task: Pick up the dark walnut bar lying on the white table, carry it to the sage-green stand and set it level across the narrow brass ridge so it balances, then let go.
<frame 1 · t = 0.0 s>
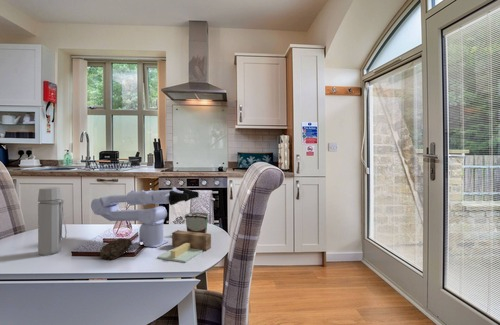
hand: (193, 195, 106), 22 cm above the table, tool horizontal, fingers open, 7 cm apart
walnut bar: (191, 247, 109), on the table
food container: (199, 234, 129), on the table
dark brown rock: (115, 255, 101), on the table
ridge stand: (180, 254, 100), on the table
water bottle: (52, 252, 102), on the table
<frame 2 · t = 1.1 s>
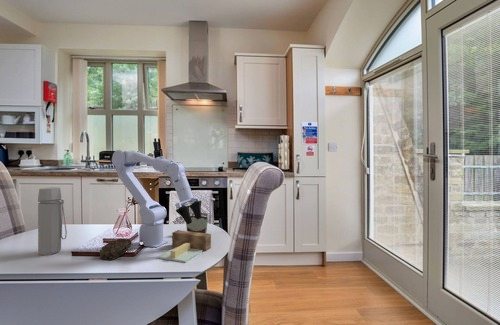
hand: (194, 221, 108), 11 cm above the table, tool tilted 20°, fingers open, 7 cm apart
nothing on the table moved.
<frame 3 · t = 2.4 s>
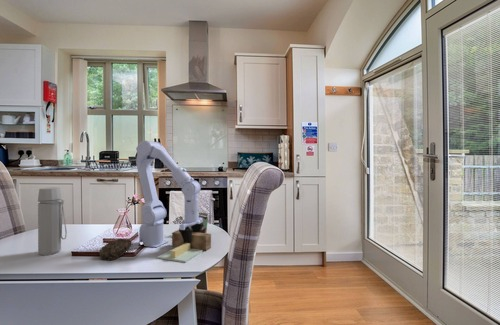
hand: (191, 243, 109), 2 cm above the table, tool pointing down, fingers open, 6 cm apart
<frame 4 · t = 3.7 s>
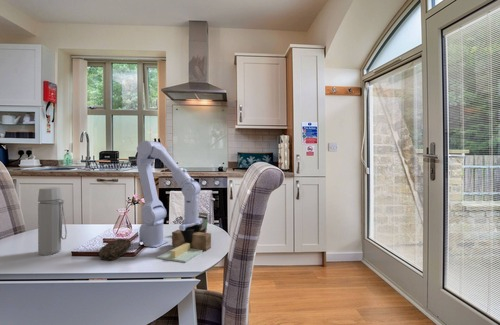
hand: (191, 243, 109), 1 cm above the table, tool pointing down, fingers closed on walnut bar, 4 cm apart
walnut bar: (191, 247, 109), on the table, touching gripper
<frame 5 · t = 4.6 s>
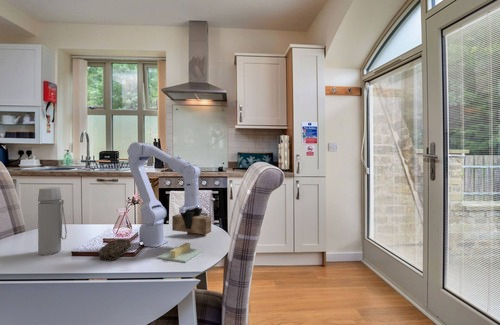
hand: (191, 227, 109), 8 cm above the table, tool pointing down, fingers closed on walnut bar, 4 cm apart
walnut bar: (191, 231, 109), point 7 cm above the table, touching gripper
when the fingers open (5 cm above the table, at t = 6.5 s): walnut bar stays where it is, resting on ridge stand.
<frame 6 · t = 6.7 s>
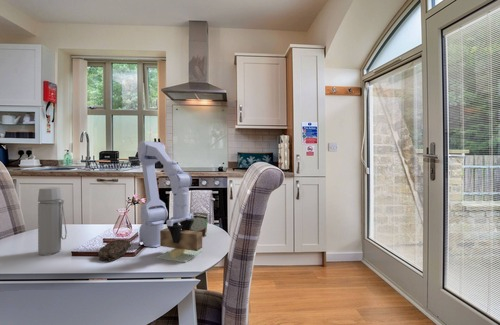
hand: (180, 240, 100), 5 cm above the table, tool pointing down, fingers open, 5 cm apart
walnut bar: (181, 246, 100), point 3 cm above the table, touching ridge stand
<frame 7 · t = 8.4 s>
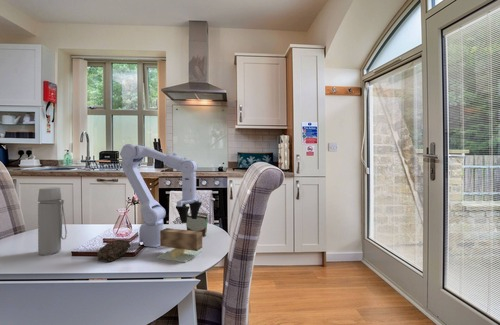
hand: (189, 220, 112), 10 cm above the table, tool pointing down, fingers open, 7 cm apart
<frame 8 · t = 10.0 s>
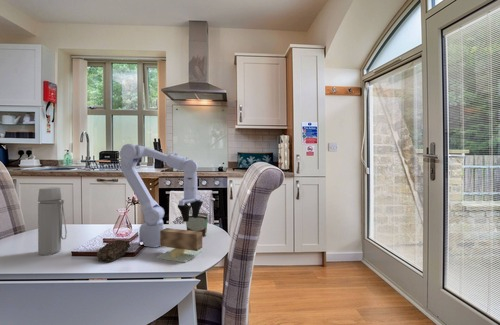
hand: (190, 219, 114), 10 cm above the table, tool pointing down, fingers open, 7 cm apart
at the end: walnut bar 0.1 cm off-centre on the ridge stand, point 3.0 cm above the ridge stand's base; walnut bar tilted 0°; walnut bar touching ridge stand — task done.
